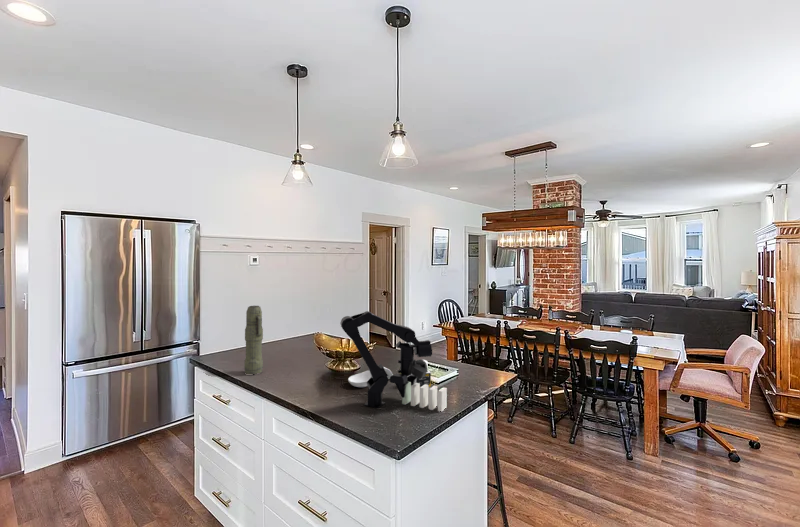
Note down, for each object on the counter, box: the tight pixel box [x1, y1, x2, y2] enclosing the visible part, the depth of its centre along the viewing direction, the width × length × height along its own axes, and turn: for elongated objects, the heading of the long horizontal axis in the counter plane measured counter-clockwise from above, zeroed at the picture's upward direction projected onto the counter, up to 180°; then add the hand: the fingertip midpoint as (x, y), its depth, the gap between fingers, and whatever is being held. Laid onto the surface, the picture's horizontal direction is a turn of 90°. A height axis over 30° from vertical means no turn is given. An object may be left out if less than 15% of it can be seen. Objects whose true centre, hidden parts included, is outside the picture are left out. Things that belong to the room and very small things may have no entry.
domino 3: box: [428, 385, 438, 411], centre depth 155 cm, size 2×5×8 cm, turn 152°
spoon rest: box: [347, 366, 394, 388], centre depth 186 cm, size 24×12×7 cm, turn 127°
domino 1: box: [410, 383, 420, 407], centre depth 159 cm, size 2×5×8 cm, turn 152°
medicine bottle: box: [414, 359, 432, 388], centre depth 183 cm, size 7×7×12 cm
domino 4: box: [437, 387, 448, 413], centre depth 153 cm, size 2×5×8 cm, turn 150°
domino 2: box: [419, 384, 429, 409], centre depth 157 cm, size 2×5×8 cm, turn 152°
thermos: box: [243, 305, 264, 374], centre depth 201 cm, size 9×12×35 cm
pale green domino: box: [401, 381, 411, 406], centre depth 161 cm, size 2×5×8 cm, turn 152°
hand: (406, 394), depth 161 cm, fingers open, 6 cm apart
